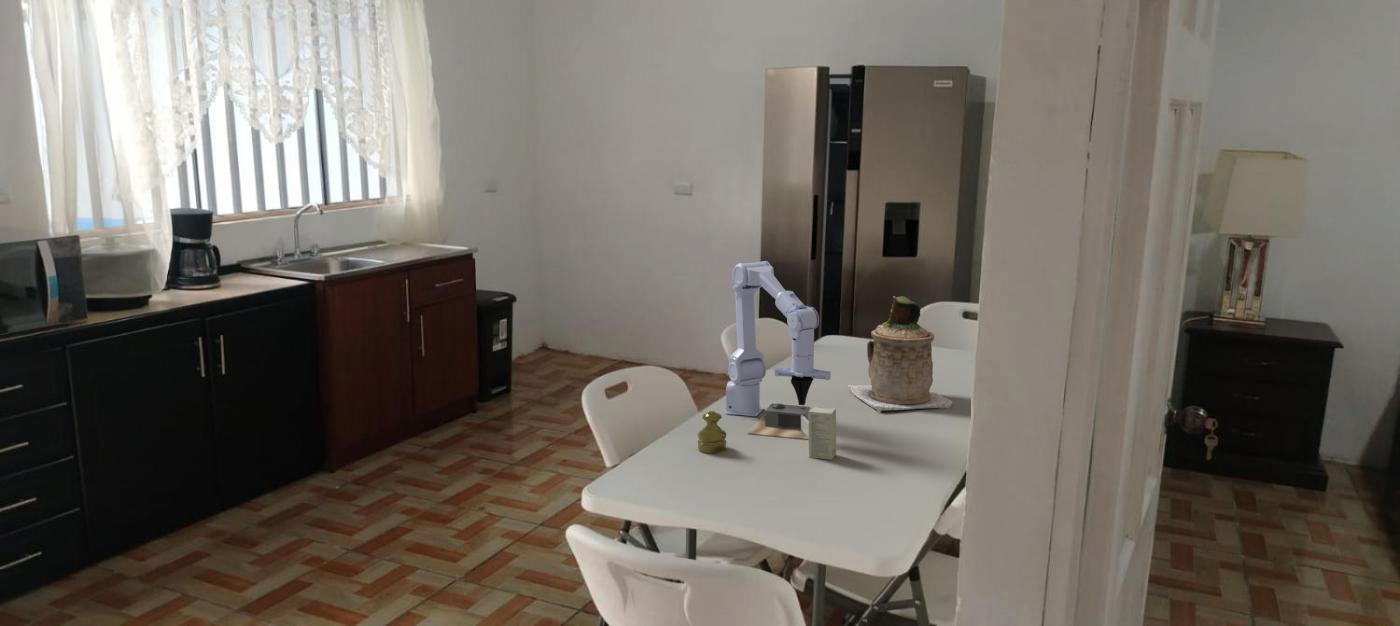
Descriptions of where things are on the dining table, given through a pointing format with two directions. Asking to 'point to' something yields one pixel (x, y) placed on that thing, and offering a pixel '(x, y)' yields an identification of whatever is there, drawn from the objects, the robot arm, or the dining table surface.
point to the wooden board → (776, 431)
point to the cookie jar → (900, 363)
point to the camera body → (785, 416)
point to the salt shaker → (712, 434)
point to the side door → (805, 425)
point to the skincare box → (822, 432)
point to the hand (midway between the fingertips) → (802, 404)
